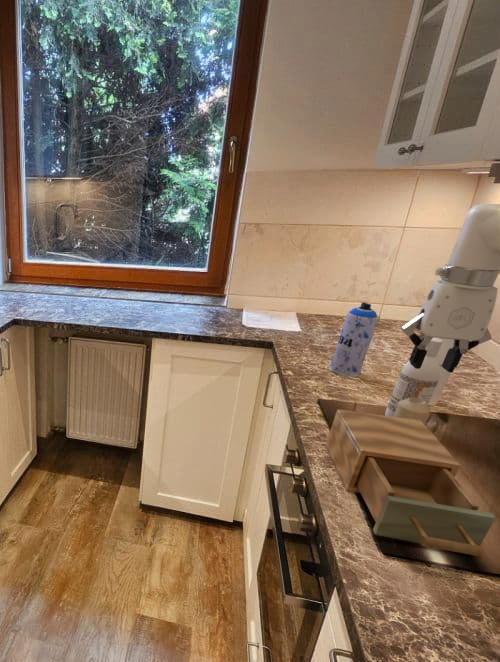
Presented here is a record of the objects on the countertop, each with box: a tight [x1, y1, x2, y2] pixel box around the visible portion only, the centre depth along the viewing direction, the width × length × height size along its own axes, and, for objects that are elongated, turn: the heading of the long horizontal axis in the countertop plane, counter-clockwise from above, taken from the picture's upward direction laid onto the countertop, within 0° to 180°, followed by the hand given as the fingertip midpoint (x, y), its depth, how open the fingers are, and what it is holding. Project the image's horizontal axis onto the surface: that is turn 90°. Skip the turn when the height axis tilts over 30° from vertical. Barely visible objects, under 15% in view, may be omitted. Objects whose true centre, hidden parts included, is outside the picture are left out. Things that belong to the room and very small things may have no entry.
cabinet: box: [325, 409, 461, 494], centre depth 89 cm, size 16×15×9 cm
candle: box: [393, 397, 432, 426], centre depth 99 cm, size 6×6×10 cm
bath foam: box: [384, 338, 442, 417], centre depth 106 cm, size 7×7×20 cm
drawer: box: [355, 455, 496, 557], centre depth 75 cm, size 20×14×7 cm
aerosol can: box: [328, 302, 379, 378], centre depth 131 cm, size 8×8×20 cm
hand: (430, 367), depth 94 cm, fingers open, 4 cm apart
